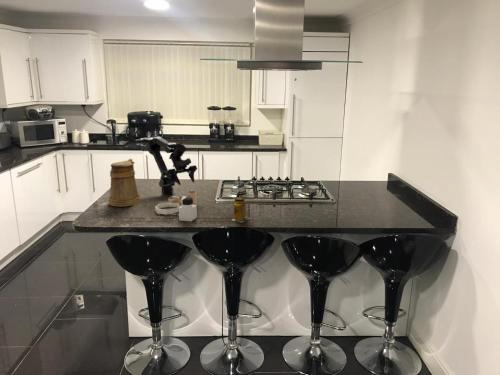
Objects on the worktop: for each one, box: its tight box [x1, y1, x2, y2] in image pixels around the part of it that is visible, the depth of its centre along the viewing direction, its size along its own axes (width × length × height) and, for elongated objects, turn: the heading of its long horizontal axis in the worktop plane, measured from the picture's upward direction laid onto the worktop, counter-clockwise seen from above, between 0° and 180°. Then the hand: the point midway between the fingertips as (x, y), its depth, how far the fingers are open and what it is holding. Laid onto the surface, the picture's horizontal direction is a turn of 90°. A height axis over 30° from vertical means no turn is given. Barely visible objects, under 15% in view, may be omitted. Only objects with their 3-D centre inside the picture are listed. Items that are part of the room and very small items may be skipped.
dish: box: [154, 201, 182, 215], centre depth 242 cm, size 13×13×3 cm
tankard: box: [108, 158, 141, 208], centre depth 257 cm, size 18×24×25 cm
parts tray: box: [167, 195, 183, 205], centre depth 258 cm, size 10×8×3 cm
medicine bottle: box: [178, 196, 198, 223], centre depth 228 cm, size 7×7×12 cm
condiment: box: [231, 196, 252, 223], centre depth 227 cm, size 7×8×12 cm
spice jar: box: [188, 189, 198, 209], centre depth 246 cm, size 4×4×11 cm
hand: (187, 183), depth 251 cm, fingers open, 9 cm apart
